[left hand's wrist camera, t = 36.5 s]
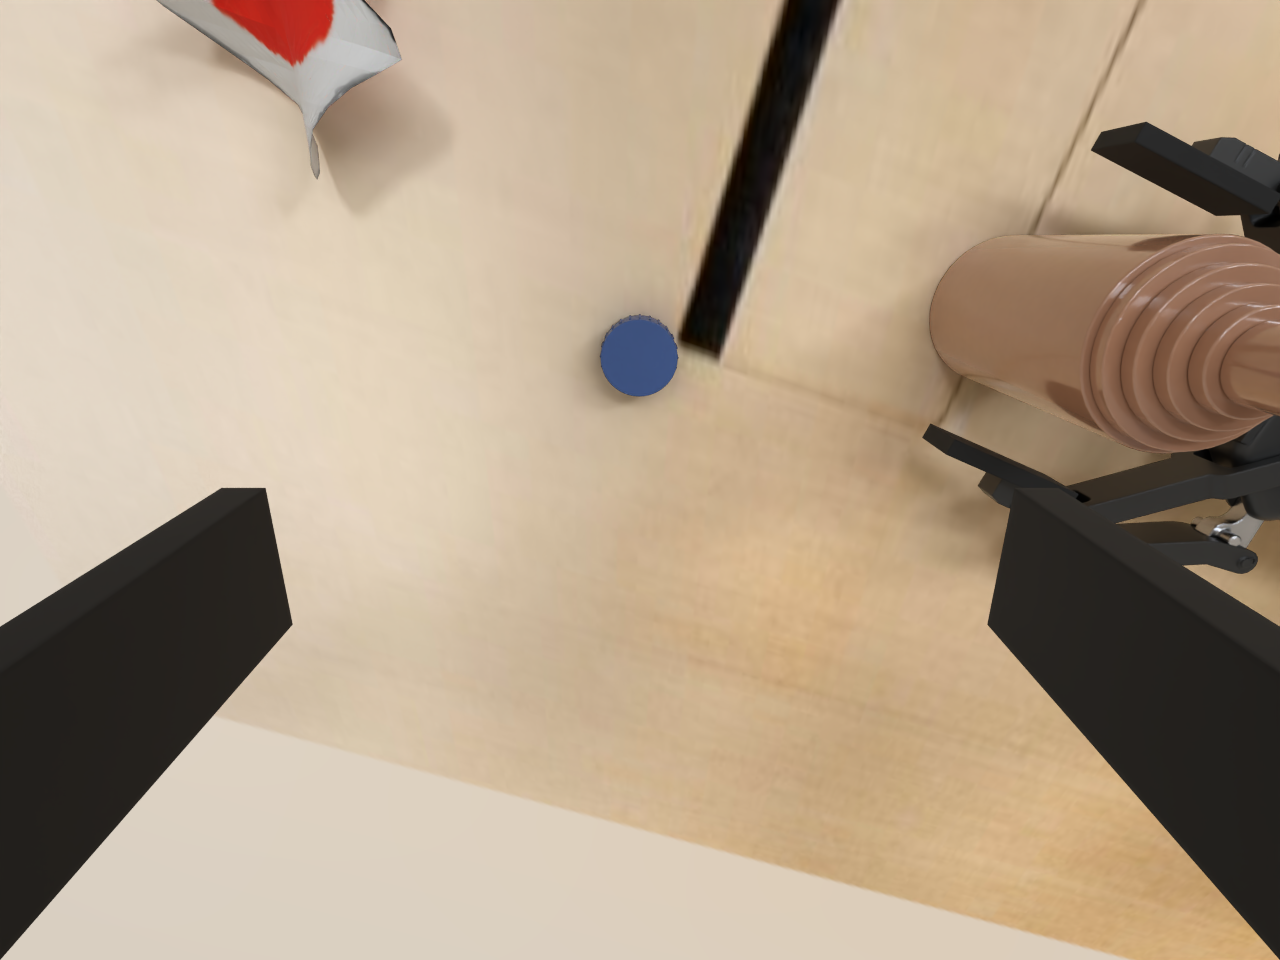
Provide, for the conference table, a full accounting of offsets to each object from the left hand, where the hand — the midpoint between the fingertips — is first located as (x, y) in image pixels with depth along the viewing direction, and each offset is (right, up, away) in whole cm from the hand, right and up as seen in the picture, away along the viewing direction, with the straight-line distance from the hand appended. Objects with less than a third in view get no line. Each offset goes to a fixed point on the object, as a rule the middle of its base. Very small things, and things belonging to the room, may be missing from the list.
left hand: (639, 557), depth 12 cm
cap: (0, +8, +23) cm, 24 cm away
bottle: (+19, +10, +24) cm, 32 cm away
